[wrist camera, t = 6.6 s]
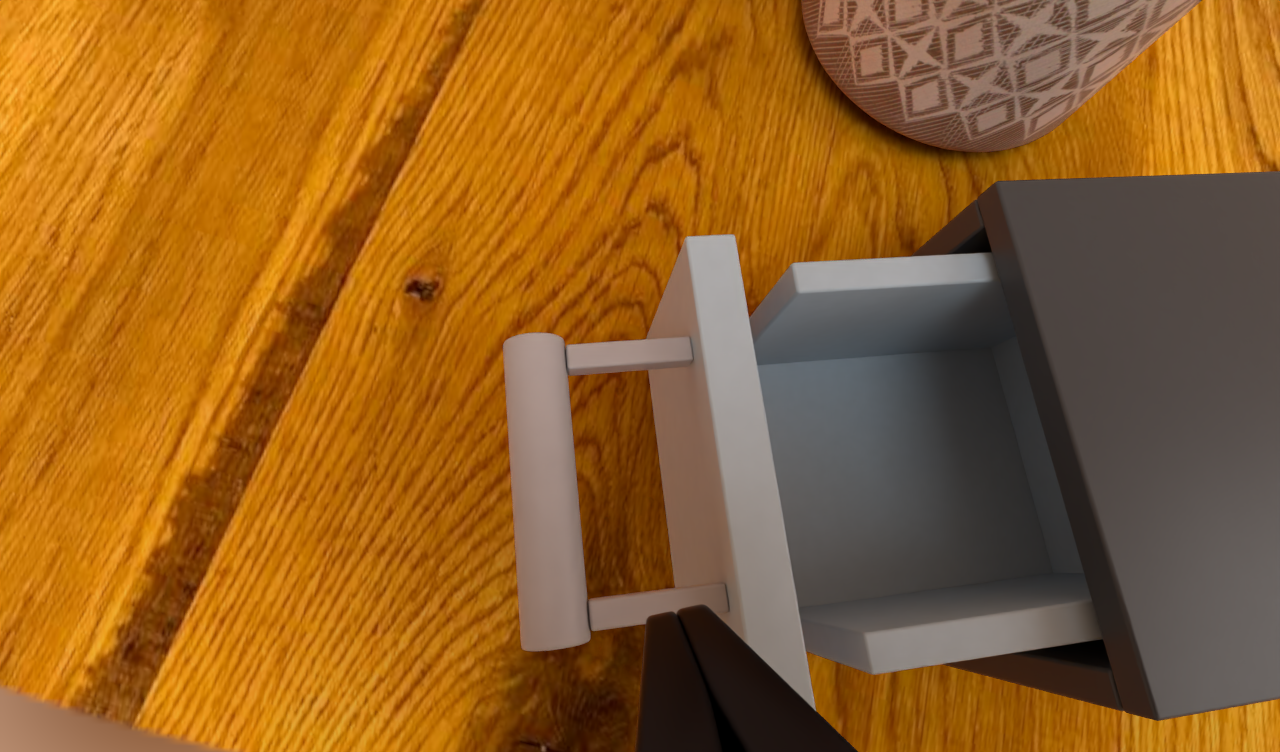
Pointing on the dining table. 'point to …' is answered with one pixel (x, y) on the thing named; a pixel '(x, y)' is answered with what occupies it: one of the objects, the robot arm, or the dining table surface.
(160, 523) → the dining table surface
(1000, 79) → the planter
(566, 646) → the drawer
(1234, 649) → the dark grey cabinet
